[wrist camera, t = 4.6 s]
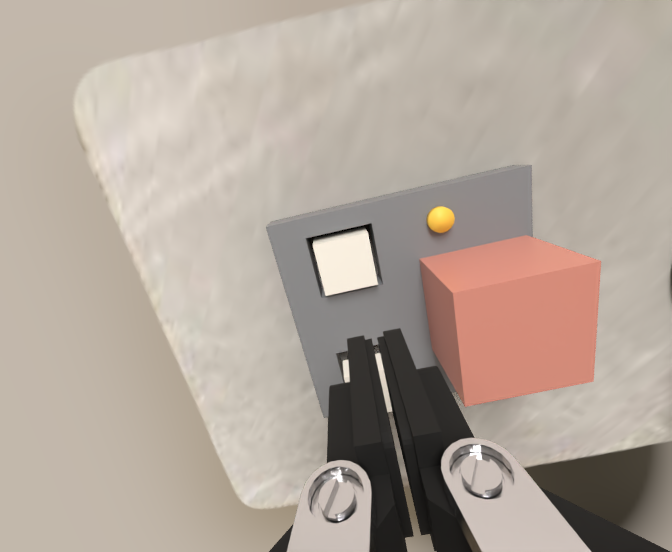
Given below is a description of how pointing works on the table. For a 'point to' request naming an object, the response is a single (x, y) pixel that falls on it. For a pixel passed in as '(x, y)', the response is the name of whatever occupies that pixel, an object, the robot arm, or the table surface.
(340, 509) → the robot arm
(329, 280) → the block
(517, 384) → the cap
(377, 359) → the block
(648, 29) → the table surface
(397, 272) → the board
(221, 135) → the table surface
